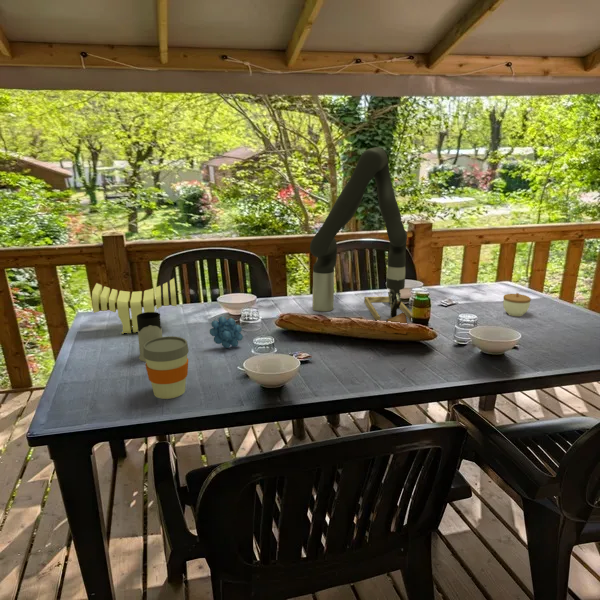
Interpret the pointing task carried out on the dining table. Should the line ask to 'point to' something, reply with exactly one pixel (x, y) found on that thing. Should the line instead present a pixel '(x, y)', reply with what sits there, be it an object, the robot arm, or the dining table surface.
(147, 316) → the glass holder
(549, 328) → the dining table surface
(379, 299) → the yellowish flat rectangular frame
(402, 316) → the sunglasses case
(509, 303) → the lidded jar
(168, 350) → the reusable coffee cup
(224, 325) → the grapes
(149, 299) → the slatted curved stool
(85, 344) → the dining table surface
